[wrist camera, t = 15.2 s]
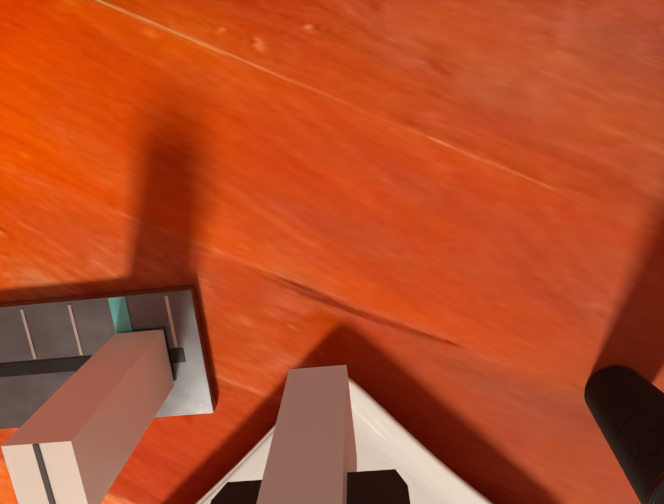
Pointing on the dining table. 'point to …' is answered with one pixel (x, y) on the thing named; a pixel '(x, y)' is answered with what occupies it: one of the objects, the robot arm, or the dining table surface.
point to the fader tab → (91, 423)
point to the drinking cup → (631, 426)
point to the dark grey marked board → (98, 346)
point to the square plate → (375, 457)
